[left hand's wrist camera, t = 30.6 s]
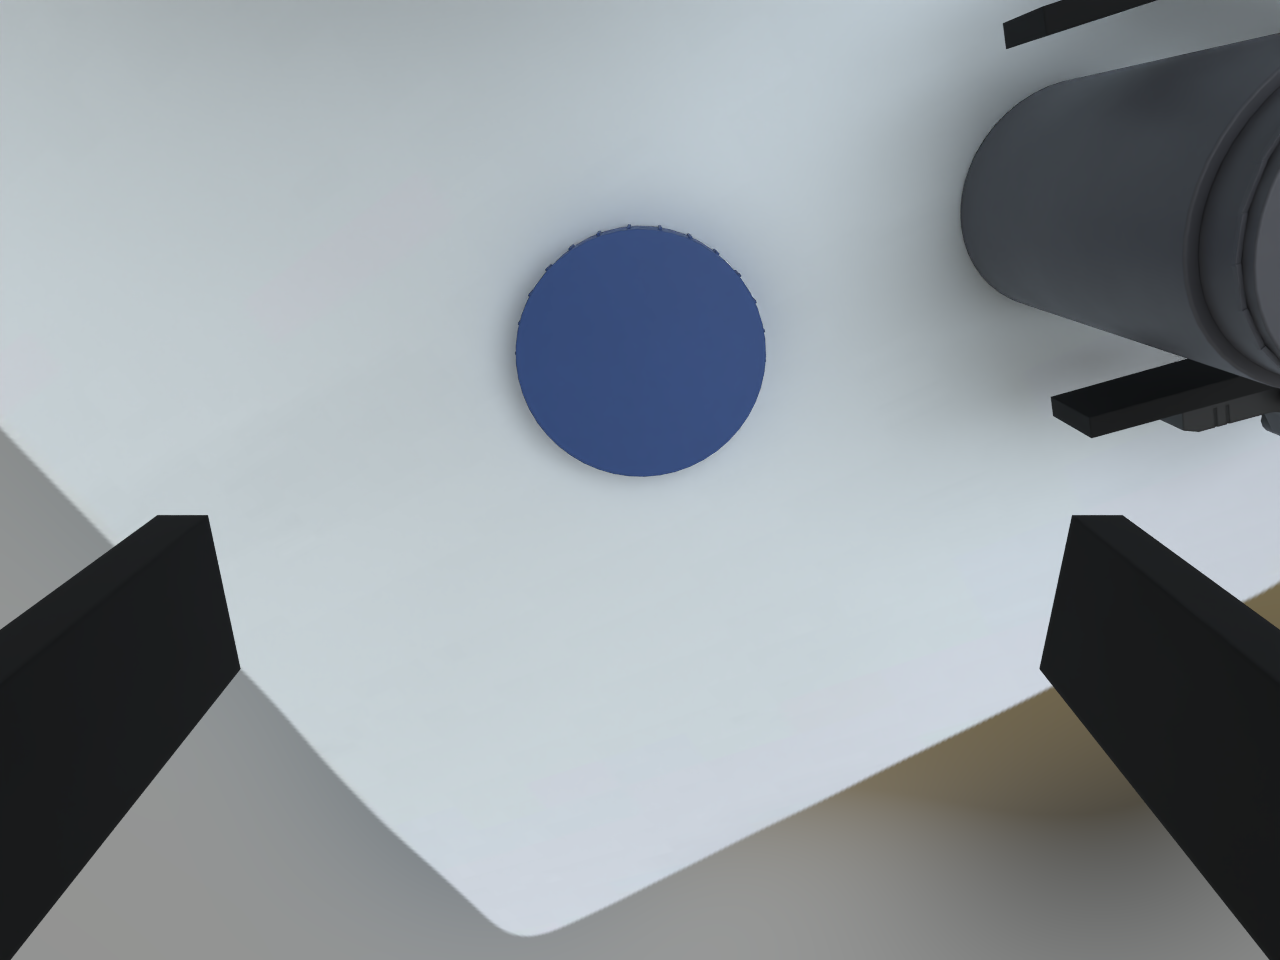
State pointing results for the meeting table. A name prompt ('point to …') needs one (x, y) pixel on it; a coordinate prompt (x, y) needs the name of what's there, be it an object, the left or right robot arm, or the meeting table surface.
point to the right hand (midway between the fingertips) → (1047, 238)
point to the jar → (1144, 205)
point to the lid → (640, 351)
